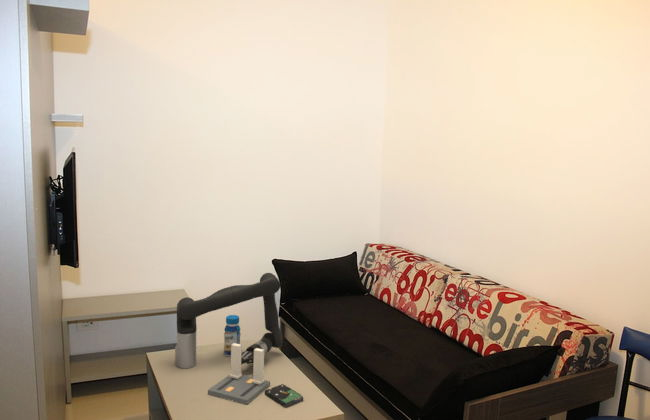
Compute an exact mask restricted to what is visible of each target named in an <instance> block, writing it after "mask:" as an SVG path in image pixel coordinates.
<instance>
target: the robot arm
mask: <svg viewBox="0 0 650 420" xmlns="http://www.w3.org/2000/svg"><path fill="white" fill-rule="evenodd" d="M280 289H281V282H280V280H279V279H278V277H277V276H276V275H275V274H273V273H271V272H265V273H264V274H262V275H261V276H260V279H259V281H258V282H256V283H253V284H252V283H251V284H240V285H237V284H236V285H231V286H227V287H224V288H221V289H219V290H217V291H215V292H213V293H212V294H211V295H209V296H207V297H204V298H201V299H197V300H194V299H193V298H191V297H188V296H187V297H183V298H181V299H180V300H178V302H177V305H176V345H175V346H174V348H175V349H174V350H175V351H174V355H175V356H174V365H176V366H177V367H178V368H180V369H191V368H193V367H195V366H196V365H197V327H198V326H197V318H199V317H200V316H202V315H205V314H207V313H210V312H211V313H212V312H214V311H218V310H221V309H224V308H228V307H230V306H235V305H238V304H241V303H244V302H247V301H250V300H253V299H257V298H260V297H262V299H263V308H264V309H263V311H264V312H263V313H264V327H265V329H266V331H268V332H266V333H263V336H262V337H261V339H260V340H258V341H256V342H254V343H253V344H251V345H250V346H247V348H246V349H245V351H241V366H242V365H246V364H247V365H249V364H250V365H252V364H254V350H255V349H256V348H259V349H263V350H264V355H266V353H269V352H270V351H271V349H272V348H275V349H278V348H280V347H282V346H283V343H284V338H283V337H284V336H283V334H282V330H281V328H280V325H279V313H278V307H277V304H276V303H277V302H276V293H278V292H279V290H280Z"/></svg>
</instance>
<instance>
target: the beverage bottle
mask: <svg viewBox="0 0 650 420" xmlns="http://www.w3.org/2000/svg"><path fill="white" fill-rule="evenodd" d="M225 317H226V318H225V324H226V325H225V326H224V333H223V340H224V341H223V344H224V345H223V349H224V350H223V354H224V356H225V357H226V356H227V357H231V345H232V344H233V343H236V344H241V326H240V316H238V315H236V314H229V315H227V316H225Z"/></svg>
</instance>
